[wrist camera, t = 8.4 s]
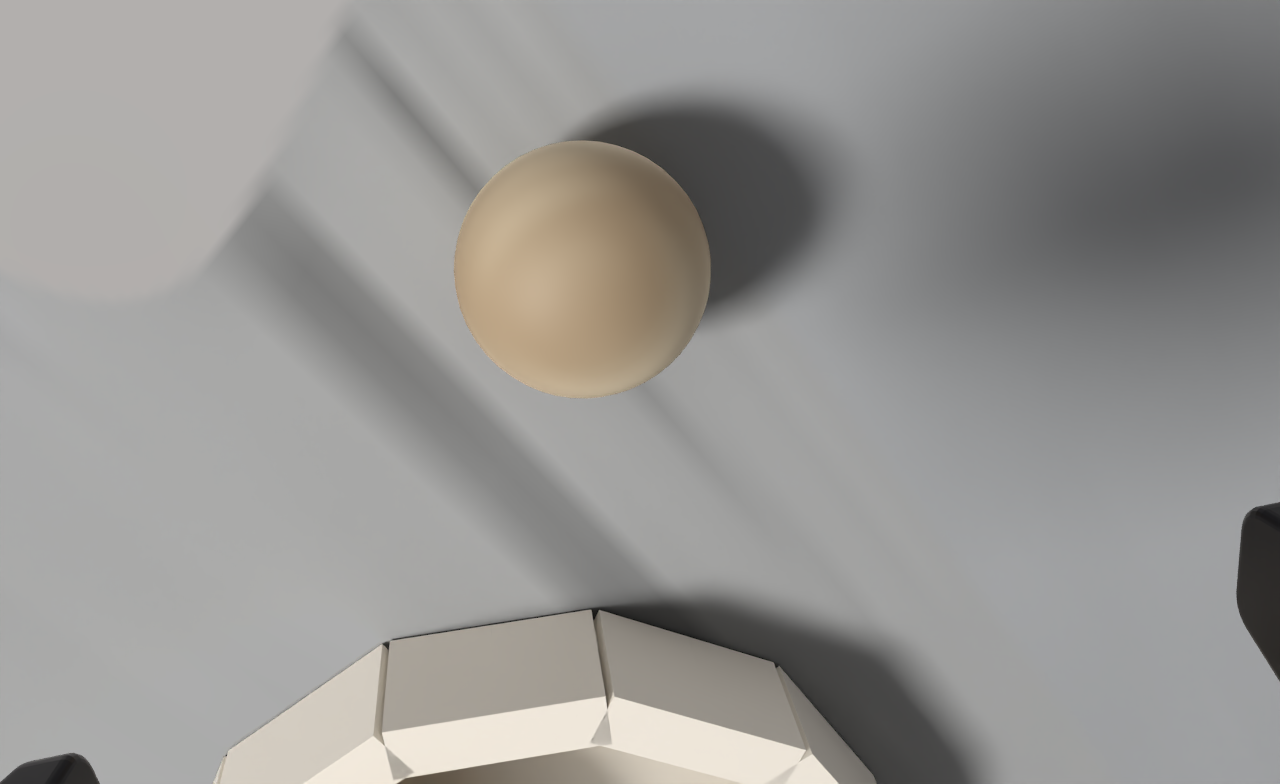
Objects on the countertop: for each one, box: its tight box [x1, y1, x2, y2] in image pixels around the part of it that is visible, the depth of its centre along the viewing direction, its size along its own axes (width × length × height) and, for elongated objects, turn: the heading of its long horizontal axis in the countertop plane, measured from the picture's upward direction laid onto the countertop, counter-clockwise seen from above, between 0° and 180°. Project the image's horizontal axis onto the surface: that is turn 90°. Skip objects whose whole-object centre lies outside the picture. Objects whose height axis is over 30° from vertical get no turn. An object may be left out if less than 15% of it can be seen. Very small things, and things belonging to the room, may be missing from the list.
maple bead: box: [454, 140, 711, 398], centre depth 17 cm, size 4×4×4 cm
